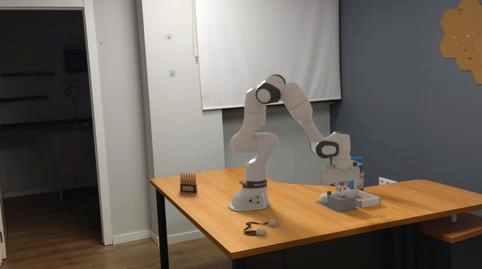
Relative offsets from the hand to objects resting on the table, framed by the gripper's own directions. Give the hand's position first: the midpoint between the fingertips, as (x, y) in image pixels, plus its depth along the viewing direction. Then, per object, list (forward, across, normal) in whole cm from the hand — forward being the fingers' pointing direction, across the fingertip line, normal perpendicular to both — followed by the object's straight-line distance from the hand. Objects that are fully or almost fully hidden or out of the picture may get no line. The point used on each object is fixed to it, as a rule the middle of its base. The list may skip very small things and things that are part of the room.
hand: (341, 190), depth 235 cm
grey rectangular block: (+10, 0, +5) cm, 11 cm away
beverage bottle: (+11, +29, +26) cm, 40 cm away
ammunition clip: (+11, -57, +76) cm, 95 cm away
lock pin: (+8, 0, 0) cm, 8 cm away
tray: (+10, +14, +5) cm, 18 cm away
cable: (+11, -49, -4) cm, 51 cm away
